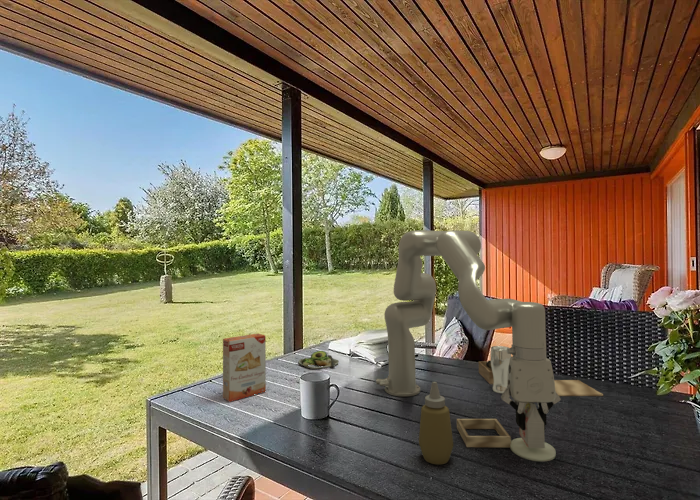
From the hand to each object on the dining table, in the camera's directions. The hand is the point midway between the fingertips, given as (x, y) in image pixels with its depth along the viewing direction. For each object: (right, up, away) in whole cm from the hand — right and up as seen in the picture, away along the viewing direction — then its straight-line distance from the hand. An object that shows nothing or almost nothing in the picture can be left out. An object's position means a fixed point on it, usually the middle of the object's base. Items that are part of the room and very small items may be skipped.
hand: (531, 427), depth 93 cm
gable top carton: (0, -4, 0) cm, 4 cm away
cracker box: (-82, -8, +42) cm, 92 cm away
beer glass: (+9, -6, +41) cm, 43 cm away
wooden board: (+32, -6, +42) cm, 54 cm away
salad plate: (-59, -9, +81) cm, 100 cm away
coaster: (0, -6, 0) cm, 6 cm away
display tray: (+15, -6, +55) cm, 57 cm away
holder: (-9, -6, +7) cm, 13 cm away
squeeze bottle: (-24, -6, -3) cm, 25 cm away
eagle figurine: (+13, -7, +55) cm, 57 cm away
